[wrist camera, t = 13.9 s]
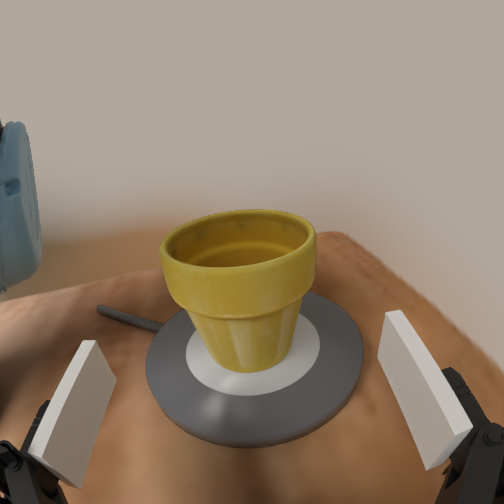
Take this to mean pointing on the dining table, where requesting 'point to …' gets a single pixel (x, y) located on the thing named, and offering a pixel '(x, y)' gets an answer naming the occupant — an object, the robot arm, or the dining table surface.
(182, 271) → the plant pot
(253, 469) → the dining table surface
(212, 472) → the dining table surface
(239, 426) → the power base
